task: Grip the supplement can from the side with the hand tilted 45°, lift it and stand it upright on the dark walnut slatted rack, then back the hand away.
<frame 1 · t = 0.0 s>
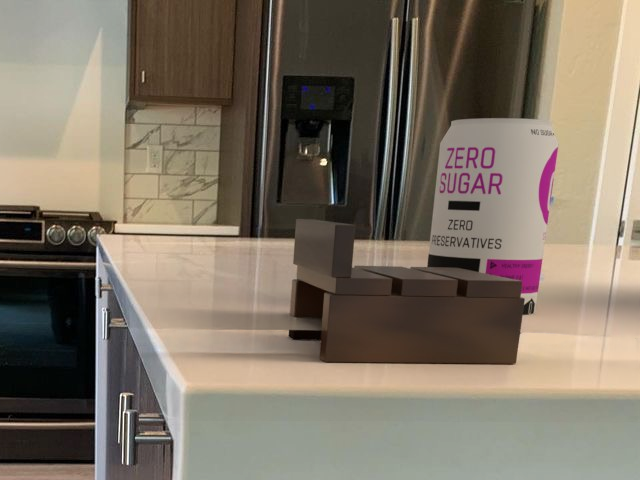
supplement can: (475, 331, 73), on the counter
rack: (394, 349, 62), on the counter
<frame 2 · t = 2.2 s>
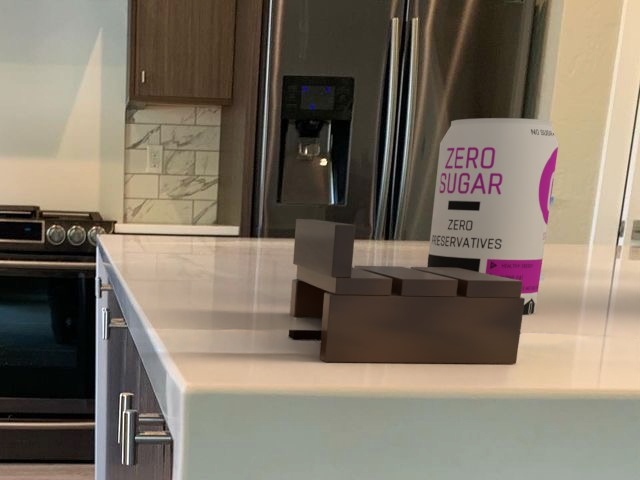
nothing on the counter moved.
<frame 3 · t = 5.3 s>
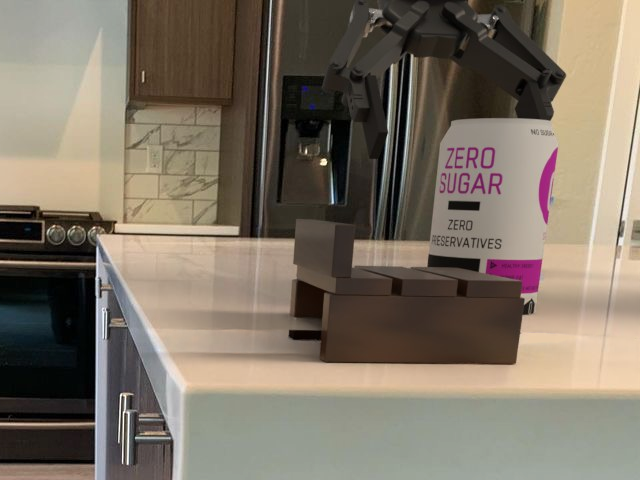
hand: (461, 149, 76), 13 cm above the counter, tool tilted 45°, fingers open, 13 cm apart
nothing on the counter moved.
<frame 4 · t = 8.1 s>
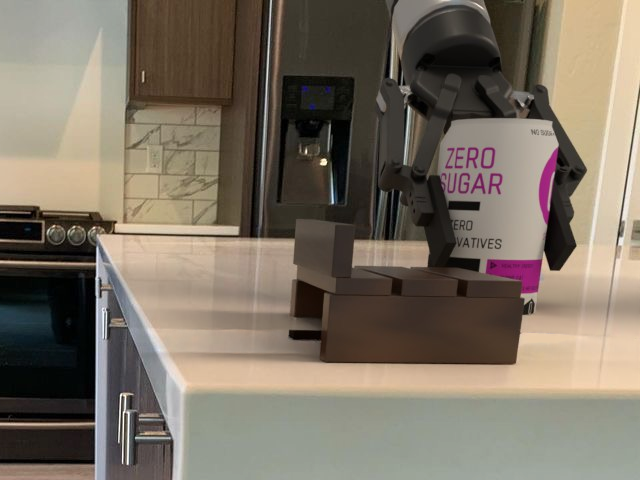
hand: (504, 256, 68), 6 cm above the counter, tool tilted 45°, fingers closed on supplement can, 8 cm apart
supplement can: (475, 331, 73), on the counter, touching gripper
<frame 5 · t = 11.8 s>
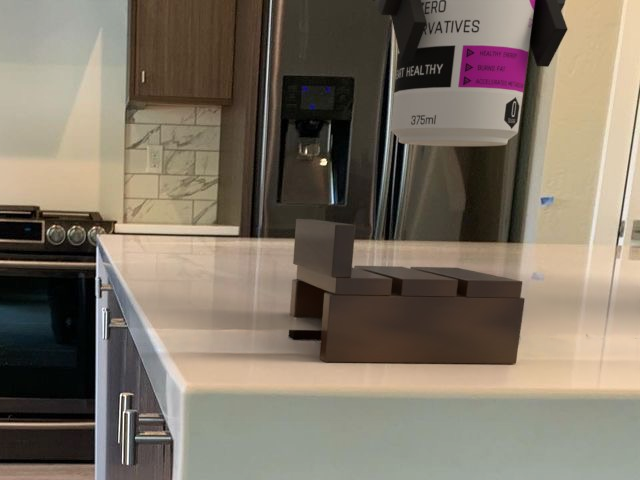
hand: (483, 44, 59), 19 cm above the counter, tool tilted 45°, fingers closed on supplement can, 8 cm apart
supplement can: (451, 146, 64), point 13 cm above the counter, touching gripper
when the fingers open (11 cm above the counter, at t = 15.3 s): supplement can stays where it is, resting on rack.
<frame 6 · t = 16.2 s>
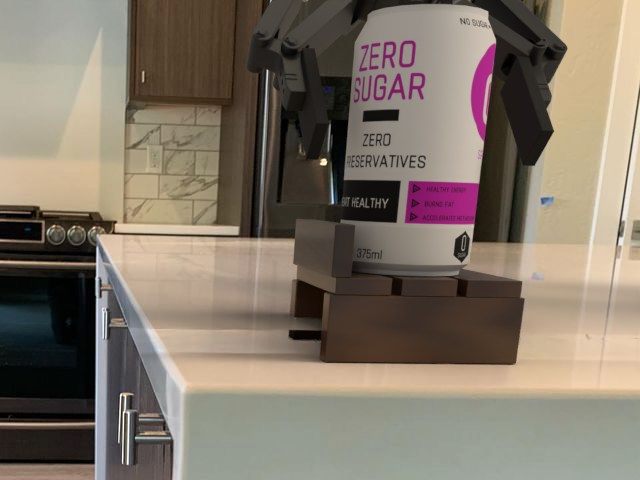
hand: (429, 146, 56), 13 cm above the counter, tool tilted 45°, fingers open, 13 cm apart
supplement can: (401, 274, 61), point 5 cm above the counter, touching rack
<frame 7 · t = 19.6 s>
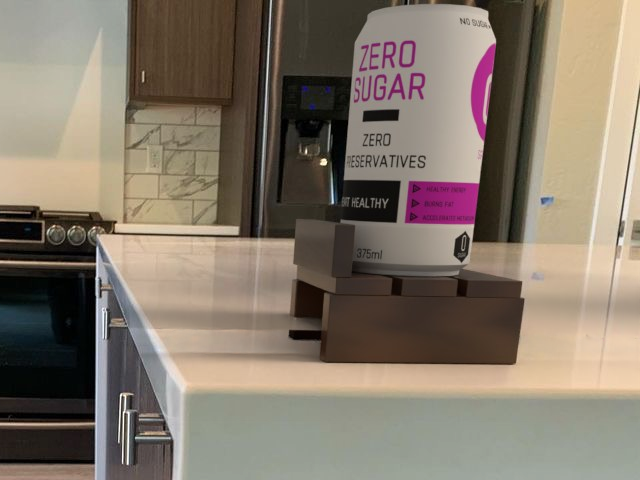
nothing on the counter moved.
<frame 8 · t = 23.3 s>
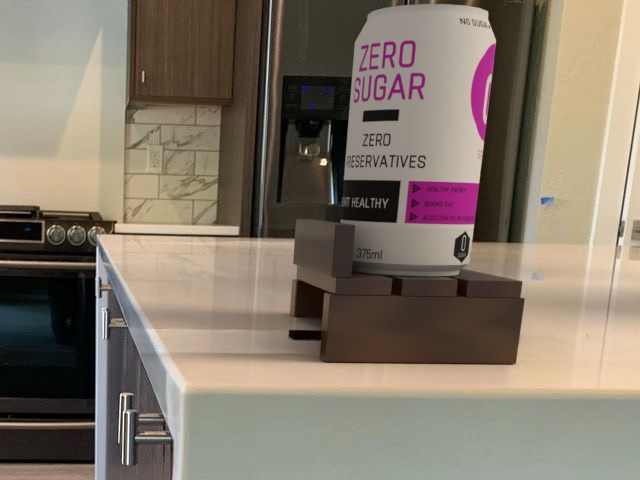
nothing on the counter moved.
at the end: supplement can inside the target area on the rack (0.1 cm from its centre), point 4.8 cm above the rack's base; supplement can tilted 0°; the gripper is holding nothing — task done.
